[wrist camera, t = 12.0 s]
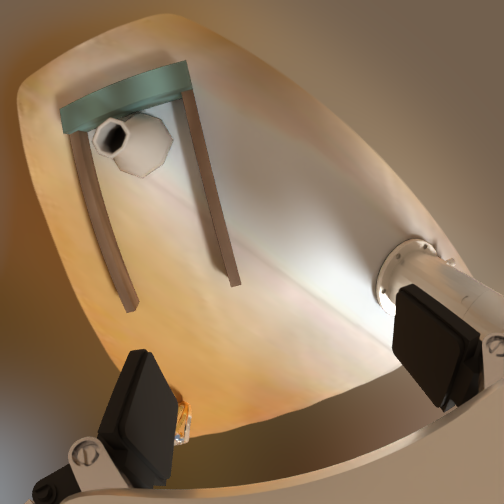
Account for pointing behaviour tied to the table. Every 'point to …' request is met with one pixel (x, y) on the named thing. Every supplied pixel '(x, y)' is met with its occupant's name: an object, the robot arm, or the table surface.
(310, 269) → the table surface
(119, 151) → the flask
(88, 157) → the guide channel
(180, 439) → the ring
